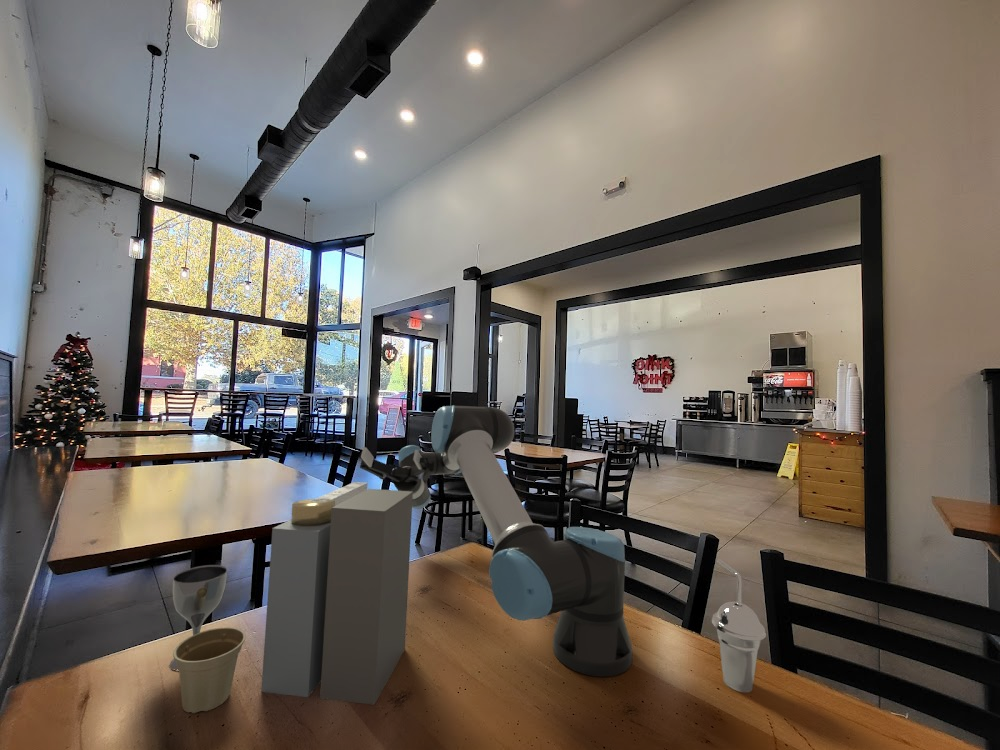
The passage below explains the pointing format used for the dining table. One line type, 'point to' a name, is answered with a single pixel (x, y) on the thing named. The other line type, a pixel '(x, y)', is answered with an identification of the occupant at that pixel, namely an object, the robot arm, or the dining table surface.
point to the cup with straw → (738, 639)
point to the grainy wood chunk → (323, 505)
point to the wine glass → (198, 594)
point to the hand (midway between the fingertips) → (389, 453)
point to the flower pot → (208, 667)
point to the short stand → (296, 609)
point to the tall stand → (366, 594)
